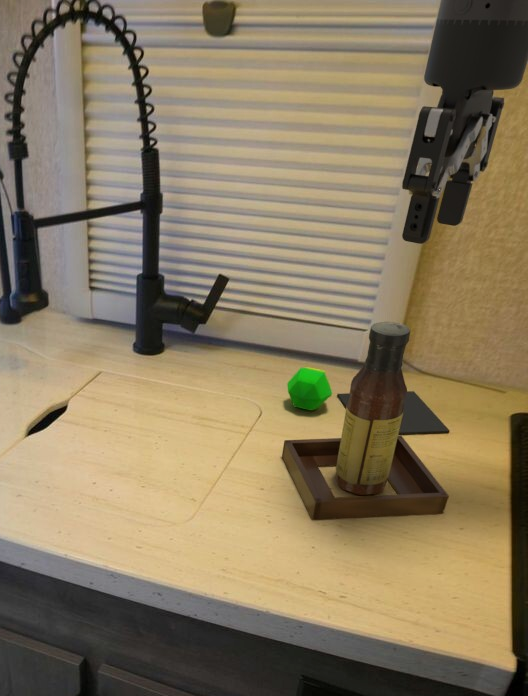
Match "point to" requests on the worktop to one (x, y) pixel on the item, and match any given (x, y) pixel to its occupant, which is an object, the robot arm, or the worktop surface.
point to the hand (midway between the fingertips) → (432, 232)
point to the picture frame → (405, 477)
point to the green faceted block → (309, 388)
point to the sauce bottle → (374, 413)
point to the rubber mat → (413, 416)
